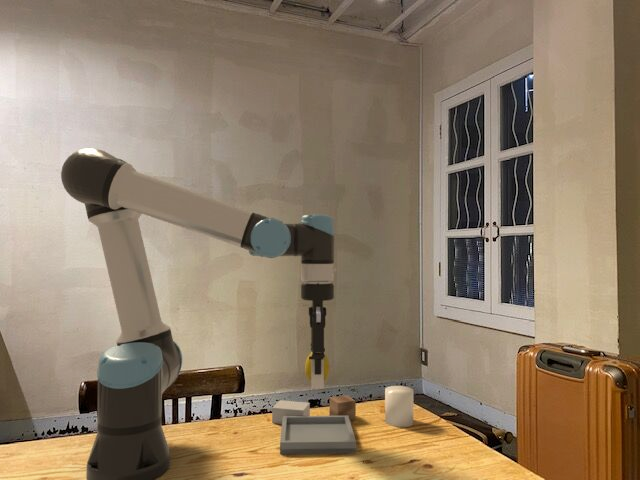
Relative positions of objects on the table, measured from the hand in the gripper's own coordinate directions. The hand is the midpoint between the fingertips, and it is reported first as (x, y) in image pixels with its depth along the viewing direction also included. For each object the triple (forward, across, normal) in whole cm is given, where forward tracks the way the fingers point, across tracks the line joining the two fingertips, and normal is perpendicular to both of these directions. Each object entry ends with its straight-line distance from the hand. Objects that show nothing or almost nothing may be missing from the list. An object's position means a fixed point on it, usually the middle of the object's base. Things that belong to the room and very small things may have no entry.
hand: (317, 384), depth 109 cm
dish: (+12, 0, 0) cm, 12 cm away
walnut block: (+12, +13, -7) cm, 19 cm away
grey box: (+13, +12, +6) cm, 18 cm away
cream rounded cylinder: (+12, +10, -21) cm, 26 cm away
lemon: (+1, 0, 0) cm, 1 cm away
